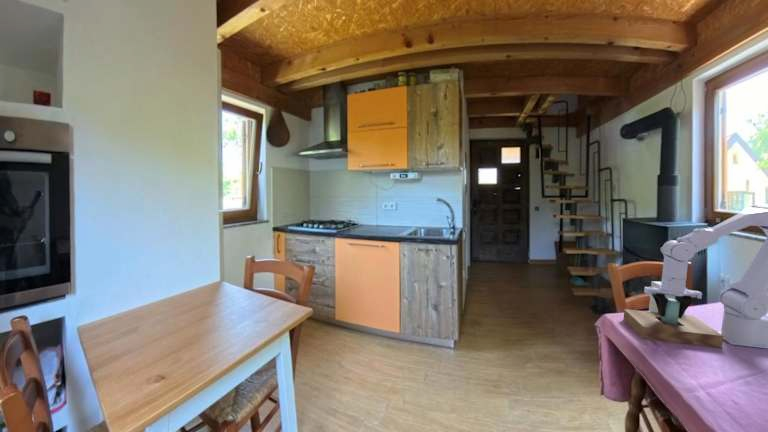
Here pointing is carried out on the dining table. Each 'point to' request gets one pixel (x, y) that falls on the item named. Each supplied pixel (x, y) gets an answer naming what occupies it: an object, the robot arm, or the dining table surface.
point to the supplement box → (652, 302)
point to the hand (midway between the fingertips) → (669, 316)
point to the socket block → (673, 329)
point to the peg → (671, 312)
